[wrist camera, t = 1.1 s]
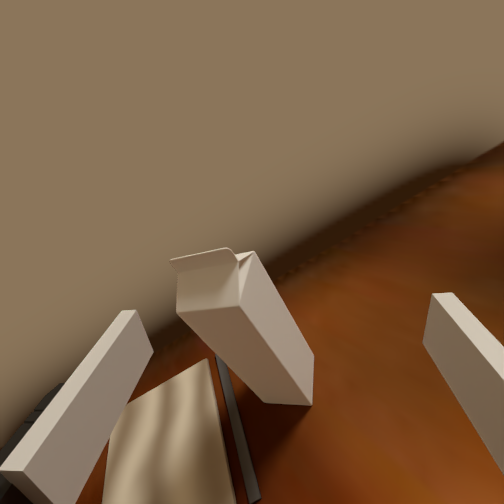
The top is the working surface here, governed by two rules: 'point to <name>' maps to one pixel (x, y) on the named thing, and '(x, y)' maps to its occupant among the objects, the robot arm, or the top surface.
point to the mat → (177, 445)
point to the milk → (245, 323)
